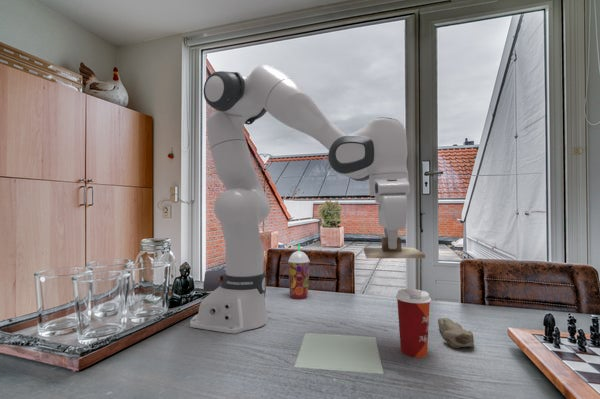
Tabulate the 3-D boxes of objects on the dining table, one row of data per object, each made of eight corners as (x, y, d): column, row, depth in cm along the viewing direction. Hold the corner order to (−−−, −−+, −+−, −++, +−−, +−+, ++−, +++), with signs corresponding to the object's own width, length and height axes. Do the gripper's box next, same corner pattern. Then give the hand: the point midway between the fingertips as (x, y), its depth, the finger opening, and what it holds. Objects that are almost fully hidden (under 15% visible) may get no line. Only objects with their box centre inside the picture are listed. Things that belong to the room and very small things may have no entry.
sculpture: (428, 331, 87) (449, 351, 73) (429, 313, 88) (449, 330, 73) (455, 334, 87) (481, 354, 72) (455, 316, 87) (481, 333, 72)
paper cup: (435, 363, 67) (434, 298, 68) (398, 360, 69) (397, 296, 69) (428, 347, 75) (427, 289, 75) (394, 345, 76) (394, 287, 77)
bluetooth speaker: (266, 292, 125) (266, 267, 125) (265, 298, 116) (265, 271, 116) (208, 293, 124) (208, 267, 124) (202, 299, 114) (203, 272, 115)
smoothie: (297, 292, 124) (297, 242, 125) (314, 296, 119) (314, 243, 119) (283, 297, 118) (283, 244, 118) (300, 301, 112) (300, 245, 113)
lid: (366, 258, 67) (365, 240, 67) (363, 251, 79) (363, 236, 79) (425, 258, 65) (424, 239, 65) (413, 250, 77) (412, 235, 77)
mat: (294, 369, 65) (294, 367, 65) (305, 334, 82) (305, 332, 83) (383, 376, 62) (383, 373, 62) (375, 339, 80) (375, 337, 80)
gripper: (371, 190, 83) (373, 242, 83) (378, 184, 63) (381, 253, 63) (396, 190, 82) (398, 242, 82) (411, 183, 62) (414, 253, 62)
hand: (391, 247), depth 72 cm, fingers closed on lid, 3 cm apart
